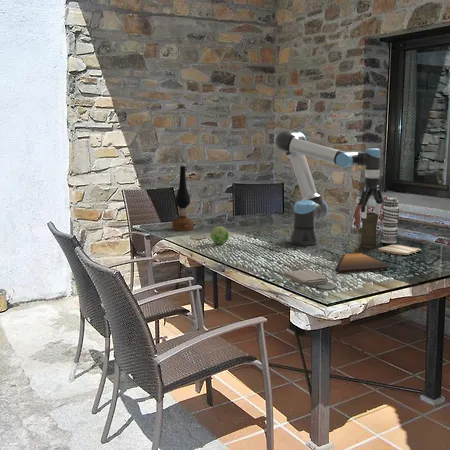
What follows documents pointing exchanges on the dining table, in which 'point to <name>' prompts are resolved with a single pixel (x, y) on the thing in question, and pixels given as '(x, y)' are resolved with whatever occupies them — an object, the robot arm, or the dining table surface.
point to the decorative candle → (390, 220)
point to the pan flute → (359, 263)
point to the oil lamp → (182, 205)
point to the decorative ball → (219, 235)
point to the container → (369, 231)
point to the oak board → (398, 249)
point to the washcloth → (306, 277)
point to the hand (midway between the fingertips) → (370, 216)
